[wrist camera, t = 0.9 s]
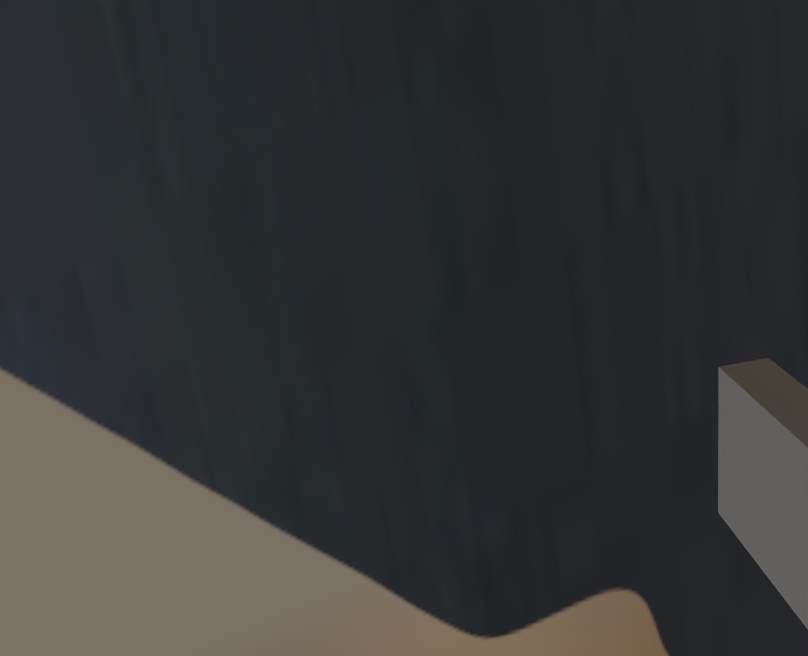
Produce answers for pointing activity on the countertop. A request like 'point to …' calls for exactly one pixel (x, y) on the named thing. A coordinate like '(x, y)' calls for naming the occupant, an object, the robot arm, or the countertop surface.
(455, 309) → the countertop surface
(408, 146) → the countertop surface
